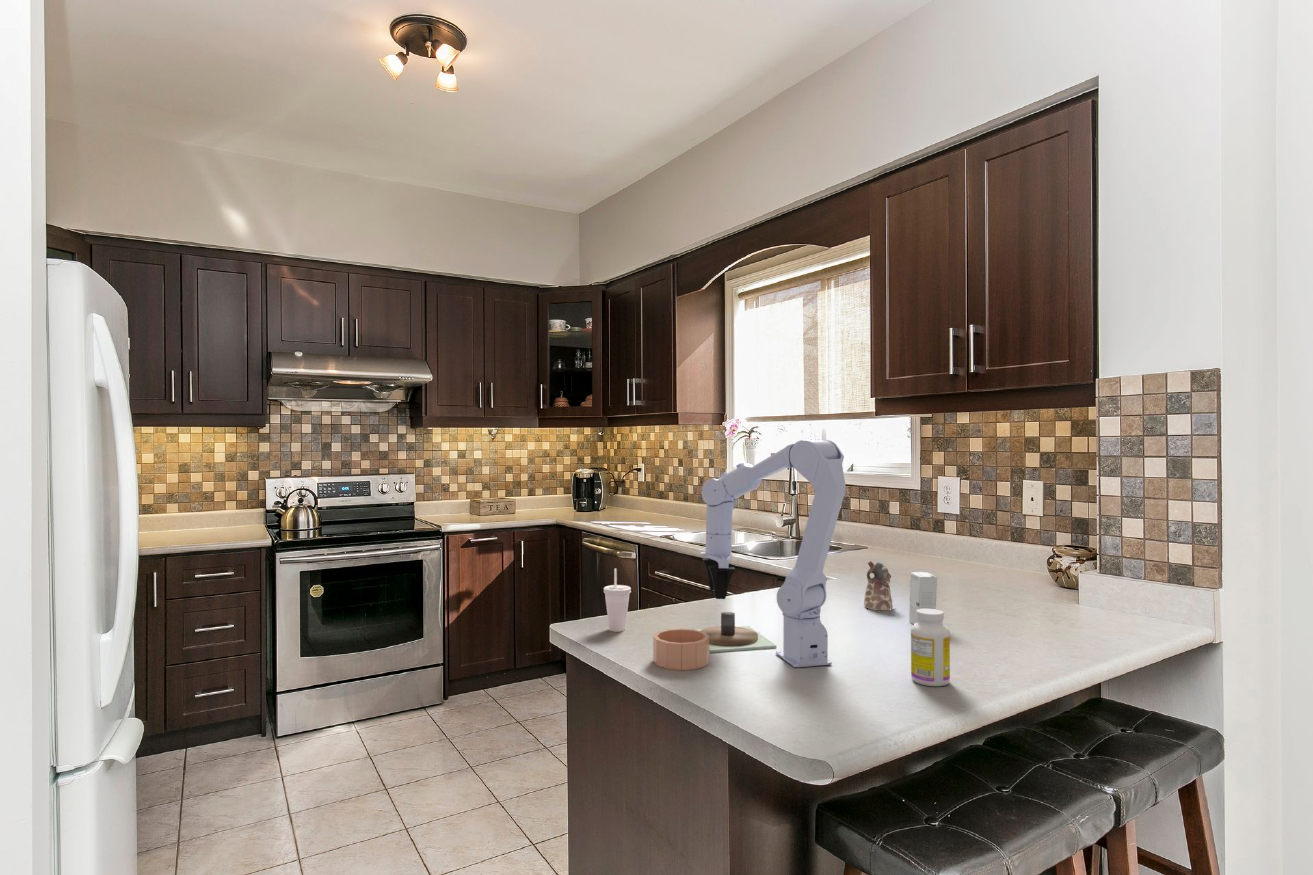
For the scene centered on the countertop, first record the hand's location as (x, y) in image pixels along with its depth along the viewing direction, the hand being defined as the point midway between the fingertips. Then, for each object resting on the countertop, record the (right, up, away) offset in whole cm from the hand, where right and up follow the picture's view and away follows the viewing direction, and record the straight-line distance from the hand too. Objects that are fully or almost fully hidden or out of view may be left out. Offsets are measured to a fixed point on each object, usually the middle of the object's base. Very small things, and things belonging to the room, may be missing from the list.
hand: (717, 594), depth 161 cm
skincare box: (+50, -10, +11) cm, 52 cm away
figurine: (+44, -10, +29) cm, 54 cm away
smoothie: (-23, -10, +7) cm, 26 cm away
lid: (+2, -9, -1) cm, 10 cm away
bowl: (-9, -10, -16) cm, 21 cm away
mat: (+2, -10, -1) cm, 10 cm away
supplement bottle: (+37, -10, -28) cm, 47 cm away
